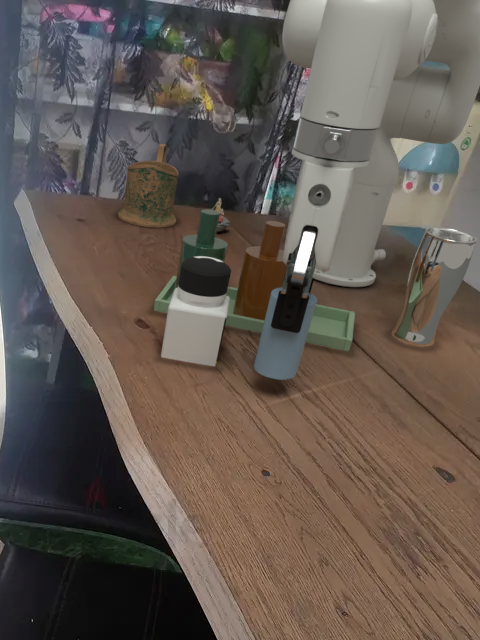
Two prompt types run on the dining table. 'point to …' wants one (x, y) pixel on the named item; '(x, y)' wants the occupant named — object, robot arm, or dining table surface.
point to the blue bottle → (282, 343)
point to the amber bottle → (261, 273)
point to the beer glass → (433, 283)
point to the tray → (324, 329)
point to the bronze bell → (150, 192)
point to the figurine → (221, 217)
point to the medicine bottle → (198, 312)
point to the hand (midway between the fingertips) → (288, 318)
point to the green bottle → (203, 241)
